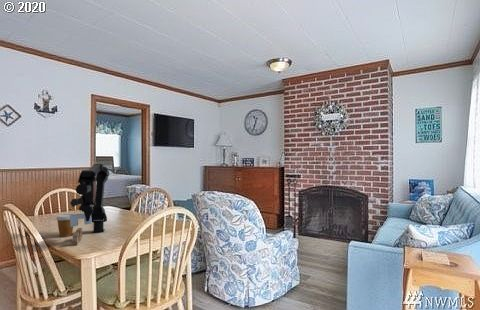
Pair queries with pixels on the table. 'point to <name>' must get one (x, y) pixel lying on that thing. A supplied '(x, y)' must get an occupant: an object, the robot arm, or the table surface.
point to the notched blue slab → (75, 218)
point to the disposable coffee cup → (64, 225)
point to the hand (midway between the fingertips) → (87, 220)
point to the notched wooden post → (77, 236)
